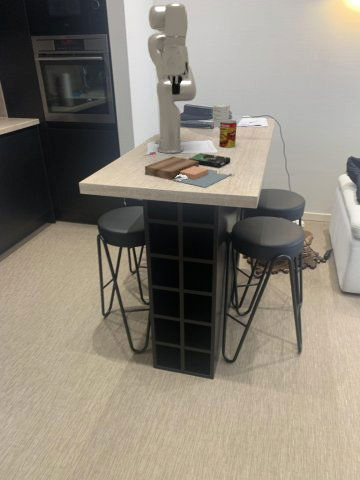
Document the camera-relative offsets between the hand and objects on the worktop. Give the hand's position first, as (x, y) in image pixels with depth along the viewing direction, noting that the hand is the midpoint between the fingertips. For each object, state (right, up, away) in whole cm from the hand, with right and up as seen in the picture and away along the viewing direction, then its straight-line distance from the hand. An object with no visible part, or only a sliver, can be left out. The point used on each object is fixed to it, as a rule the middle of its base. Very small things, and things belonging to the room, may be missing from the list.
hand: (176, 94), depth 149 cm
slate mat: (+10, -35, -9) cm, 37 cm away
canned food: (+25, -12, +37) cm, 46 cm away
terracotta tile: (+7, -34, -7) cm, 35 cm away
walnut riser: (-1, -31, -1) cm, 31 cm away
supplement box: (+27, +12, +83) cm, 88 cm away
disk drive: (+14, -26, +10) cm, 31 cm away
